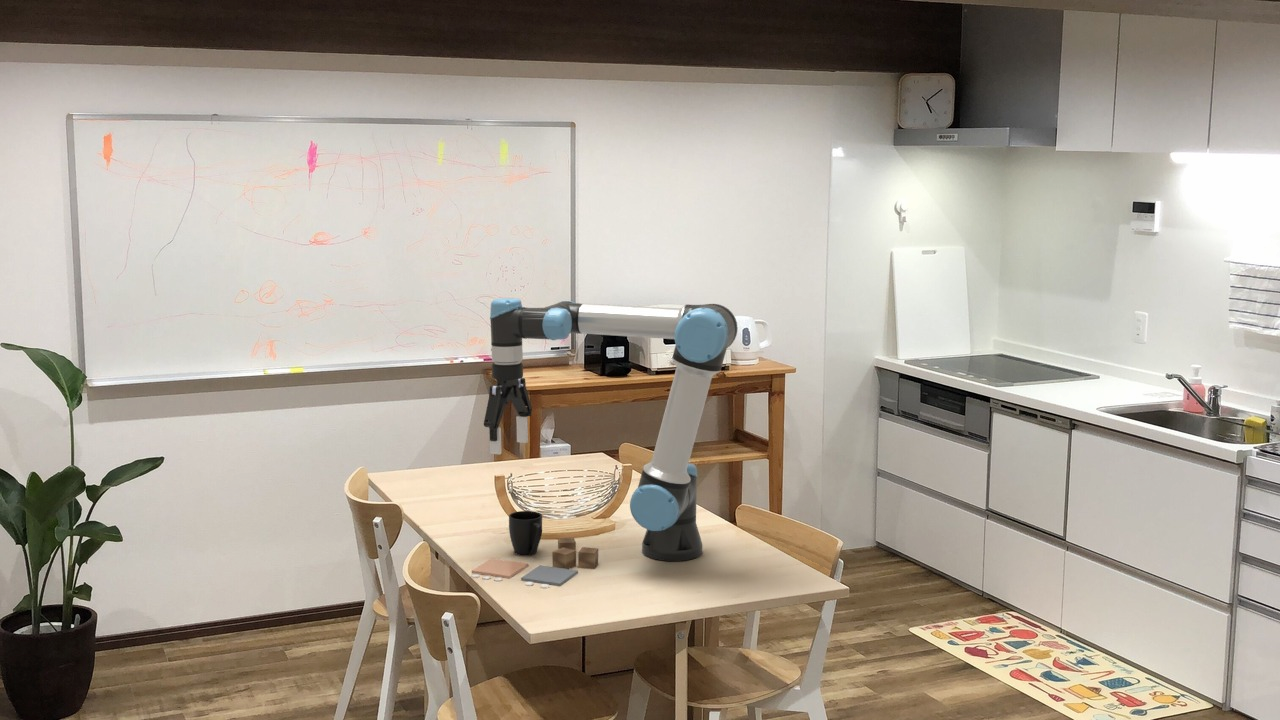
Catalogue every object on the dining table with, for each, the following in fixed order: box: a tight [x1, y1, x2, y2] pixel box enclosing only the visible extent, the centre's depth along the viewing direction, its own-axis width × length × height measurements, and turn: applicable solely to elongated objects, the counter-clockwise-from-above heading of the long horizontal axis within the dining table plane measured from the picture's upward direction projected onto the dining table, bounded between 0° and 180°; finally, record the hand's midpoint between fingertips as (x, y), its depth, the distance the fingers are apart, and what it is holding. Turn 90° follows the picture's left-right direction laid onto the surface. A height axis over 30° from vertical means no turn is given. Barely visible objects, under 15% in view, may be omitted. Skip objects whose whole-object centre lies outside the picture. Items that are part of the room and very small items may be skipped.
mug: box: [508, 510, 543, 556], centre depth 304 cm, size 8×12×10 cm
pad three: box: [470, 557, 530, 582], centre depth 292 cm, size 10×13×1 cm
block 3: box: [577, 546, 599, 570], centre depth 297 cm, size 4×4×4 cm
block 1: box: [557, 537, 577, 551], centre depth 304 cm, size 4×4×4 cm
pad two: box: [520, 564, 579, 589], centre depth 287 cm, size 10×13×1 cm
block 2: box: [551, 547, 577, 569], centre depth 296 cm, size 4×4×4 cm
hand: (509, 448), depth 302 cm, fingers open, 13 cm apart
